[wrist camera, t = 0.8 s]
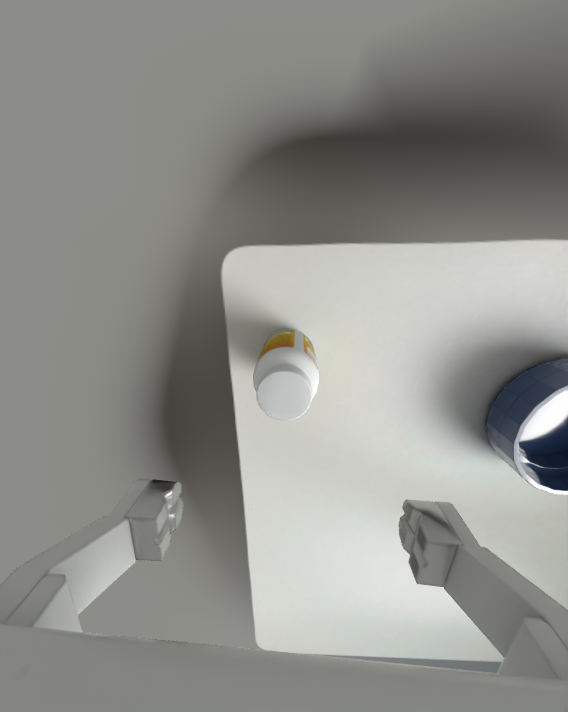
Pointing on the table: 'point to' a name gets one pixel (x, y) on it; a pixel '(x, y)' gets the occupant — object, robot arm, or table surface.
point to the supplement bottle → (286, 375)
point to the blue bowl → (534, 426)
